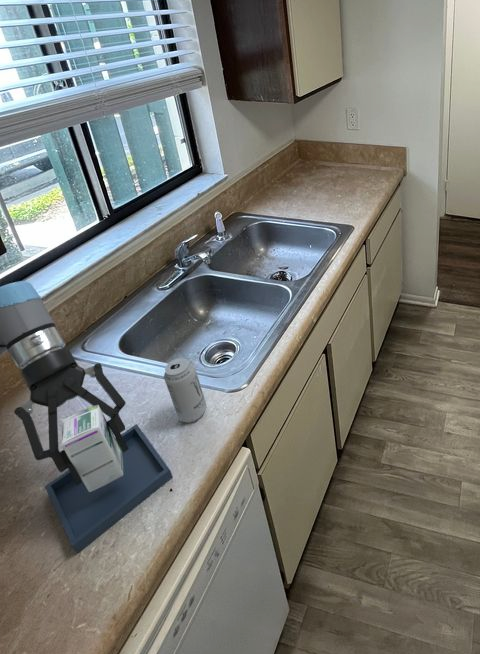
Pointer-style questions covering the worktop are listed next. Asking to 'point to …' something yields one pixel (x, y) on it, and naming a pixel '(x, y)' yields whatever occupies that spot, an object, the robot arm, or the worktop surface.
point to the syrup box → (92, 448)
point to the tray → (108, 492)
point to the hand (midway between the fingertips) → (103, 466)
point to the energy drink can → (185, 389)
